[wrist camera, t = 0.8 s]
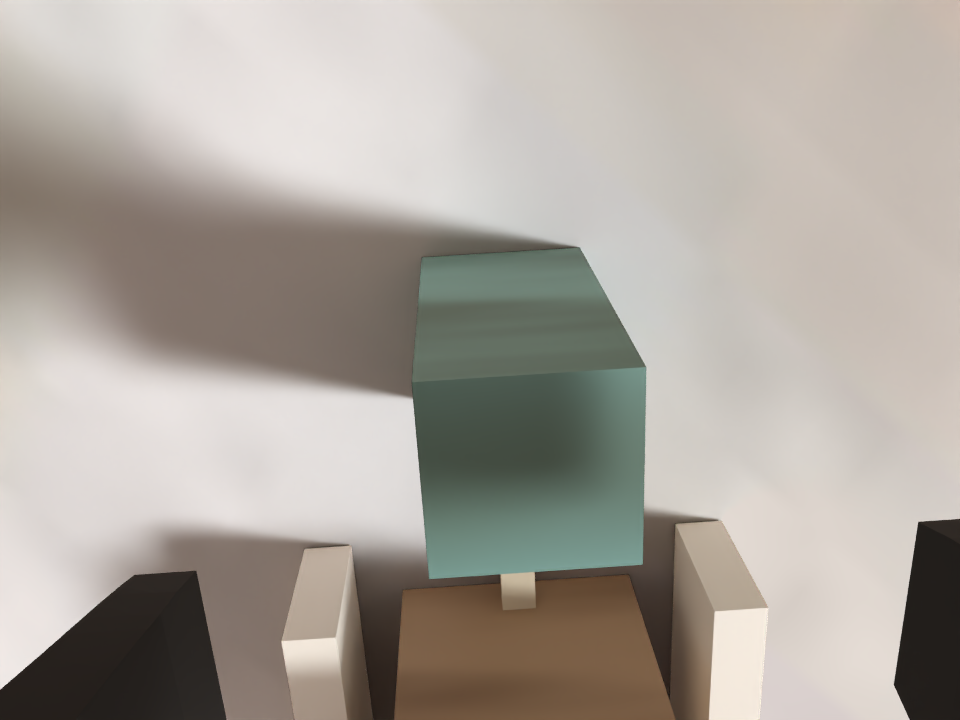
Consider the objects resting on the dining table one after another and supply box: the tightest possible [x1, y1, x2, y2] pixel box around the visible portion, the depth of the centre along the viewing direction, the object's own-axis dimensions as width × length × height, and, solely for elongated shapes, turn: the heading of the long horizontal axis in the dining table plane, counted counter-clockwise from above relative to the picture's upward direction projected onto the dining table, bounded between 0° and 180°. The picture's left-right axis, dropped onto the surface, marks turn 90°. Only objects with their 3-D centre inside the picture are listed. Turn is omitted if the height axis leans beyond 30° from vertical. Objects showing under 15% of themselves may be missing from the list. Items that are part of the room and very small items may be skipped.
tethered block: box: [394, 248, 676, 720], centre depth 17 cm, size 12×5×6 cm, turn 3°
